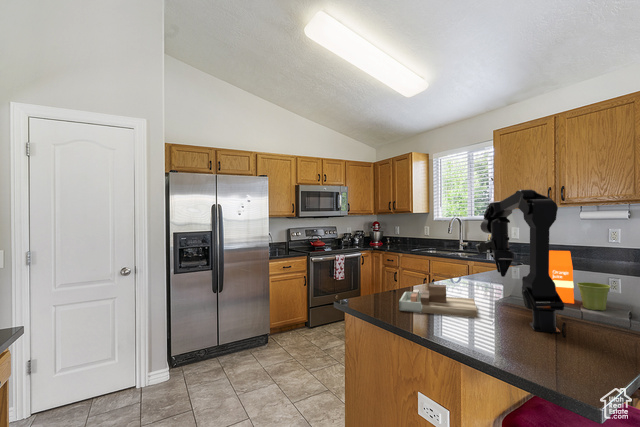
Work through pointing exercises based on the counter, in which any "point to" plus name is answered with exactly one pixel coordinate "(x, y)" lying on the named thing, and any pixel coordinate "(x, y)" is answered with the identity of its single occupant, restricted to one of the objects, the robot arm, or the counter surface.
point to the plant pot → (594, 295)
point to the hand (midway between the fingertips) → (501, 274)
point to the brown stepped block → (434, 294)
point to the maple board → (452, 307)
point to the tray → (409, 303)
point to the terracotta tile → (414, 298)
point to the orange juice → (562, 274)
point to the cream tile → (417, 294)
